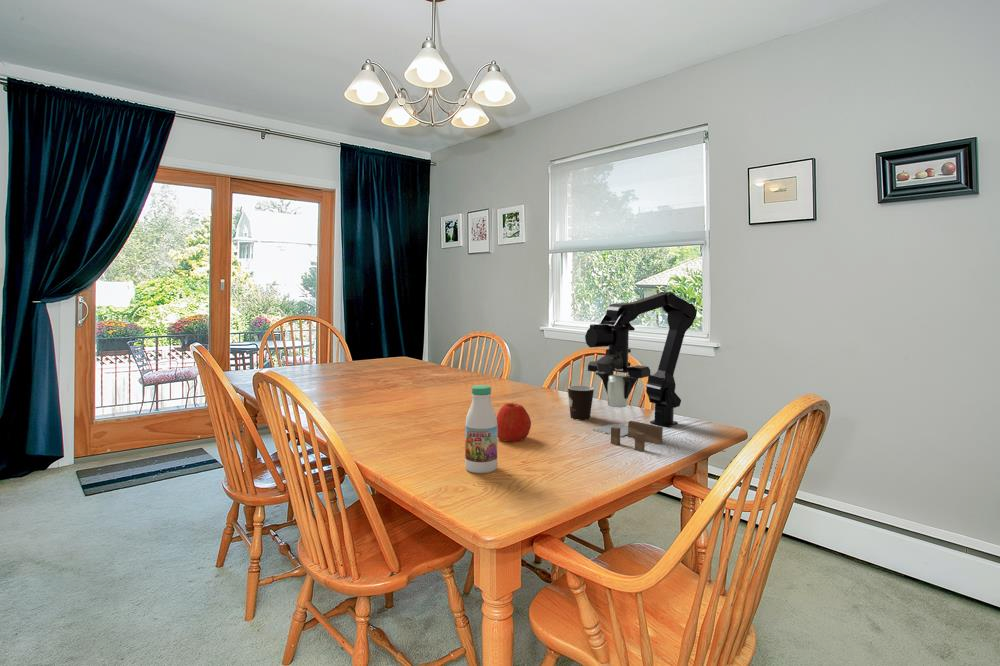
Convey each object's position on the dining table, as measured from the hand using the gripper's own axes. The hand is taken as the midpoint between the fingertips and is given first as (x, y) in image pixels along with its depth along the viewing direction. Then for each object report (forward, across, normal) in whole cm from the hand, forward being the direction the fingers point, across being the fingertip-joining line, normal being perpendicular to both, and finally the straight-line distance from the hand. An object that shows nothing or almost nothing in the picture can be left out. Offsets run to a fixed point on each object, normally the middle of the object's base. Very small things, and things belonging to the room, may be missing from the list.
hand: (617, 397), depth 158 cm
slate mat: (+10, 0, 0) cm, 10 cm away
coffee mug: (+11, -18, +6) cm, 22 cm away
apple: (+10, -16, -29) cm, 35 cm away
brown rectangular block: (+10, +11, -7) cm, 17 cm away
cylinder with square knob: (+2, 0, 0) cm, 3 cm away
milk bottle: (+10, -4, -52) cm, 53 cm away
